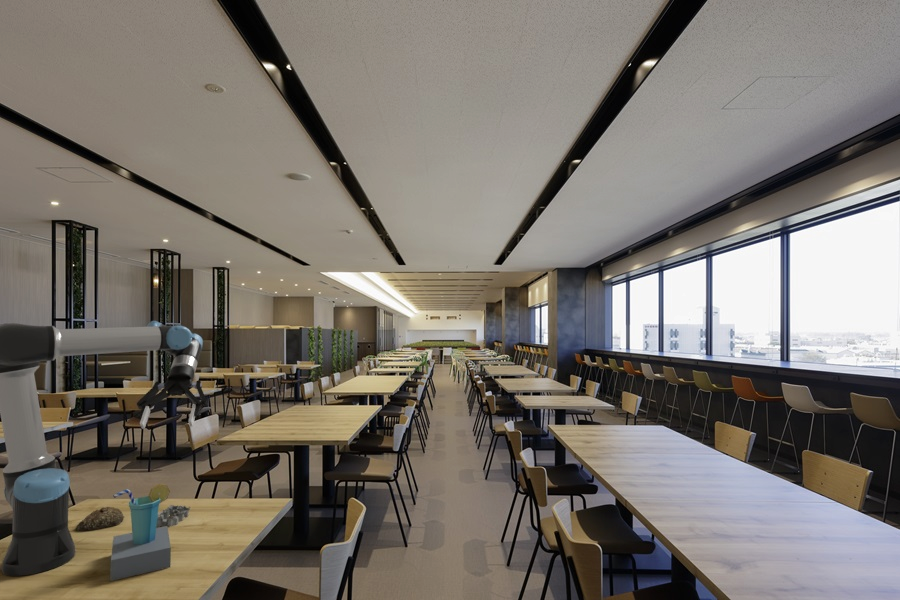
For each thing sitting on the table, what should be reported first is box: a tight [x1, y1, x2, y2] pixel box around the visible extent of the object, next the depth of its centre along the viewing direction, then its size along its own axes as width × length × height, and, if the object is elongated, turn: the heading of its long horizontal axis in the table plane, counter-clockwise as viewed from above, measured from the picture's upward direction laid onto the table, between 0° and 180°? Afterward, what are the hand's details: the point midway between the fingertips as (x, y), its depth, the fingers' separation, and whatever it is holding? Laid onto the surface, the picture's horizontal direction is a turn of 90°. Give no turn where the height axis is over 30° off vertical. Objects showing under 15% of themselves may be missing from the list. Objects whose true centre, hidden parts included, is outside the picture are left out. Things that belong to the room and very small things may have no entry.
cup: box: [113, 483, 171, 545], centre depth 135 cm, size 14×8×15 cm, turn 149°
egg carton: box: [156, 504, 191, 528], centre depth 163 cm, size 11×8×4 cm
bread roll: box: [75, 506, 125, 532], centre depth 161 cm, size 13×12×5 cm
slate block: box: [110, 525, 172, 582], centre depth 134 cm, size 13×17×5 cm
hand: (166, 425), depth 154 cm, fingers open, 13 cm apart
